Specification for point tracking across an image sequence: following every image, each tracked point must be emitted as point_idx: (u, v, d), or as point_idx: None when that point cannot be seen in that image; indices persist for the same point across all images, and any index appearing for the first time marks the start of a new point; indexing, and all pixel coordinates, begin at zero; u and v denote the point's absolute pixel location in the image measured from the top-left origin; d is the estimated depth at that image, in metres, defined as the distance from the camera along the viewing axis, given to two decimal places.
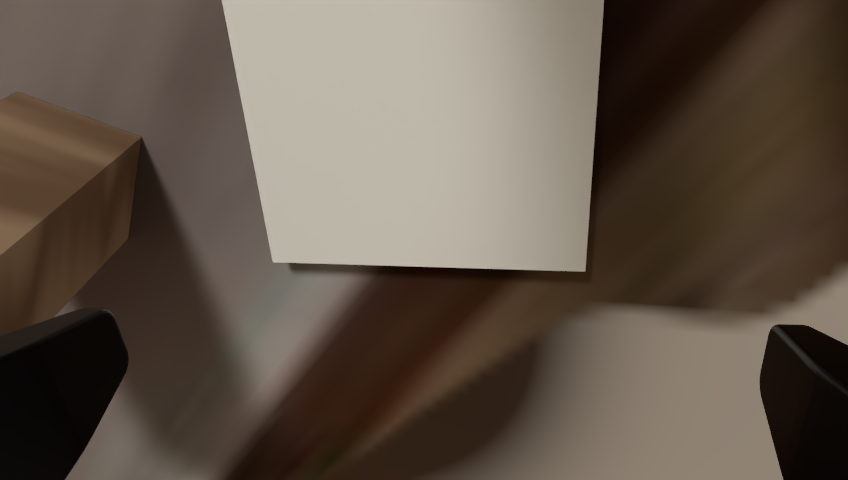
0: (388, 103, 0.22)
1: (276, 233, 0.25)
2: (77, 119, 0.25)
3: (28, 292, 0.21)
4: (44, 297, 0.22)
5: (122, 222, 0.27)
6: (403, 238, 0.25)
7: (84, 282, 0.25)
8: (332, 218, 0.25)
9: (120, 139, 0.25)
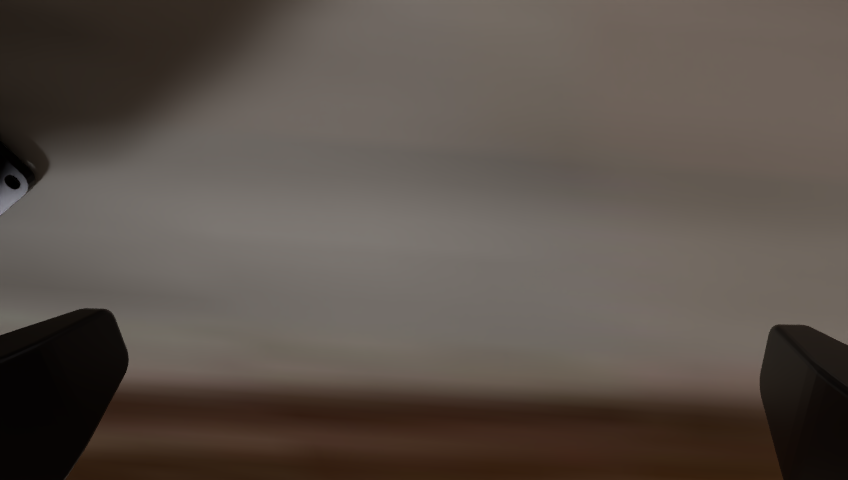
0: None
1: None
2: None
3: None
4: None
5: None
6: None
7: None
8: None
9: None
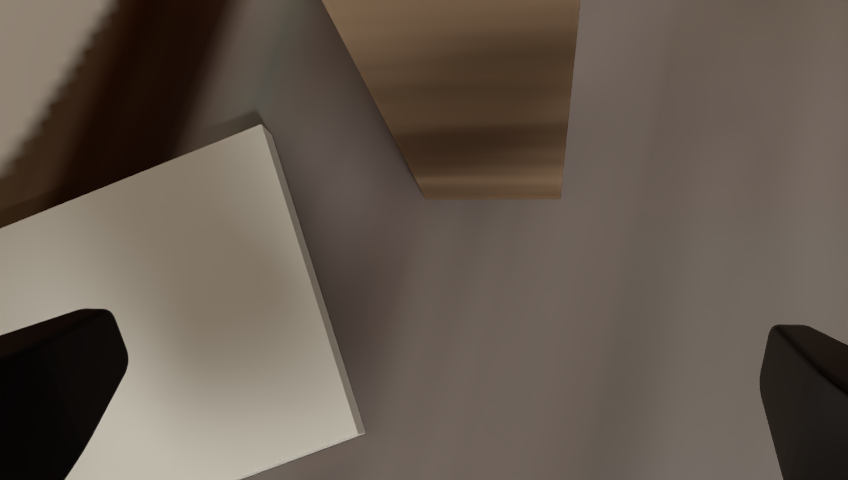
0: (177, 333, 0.24)
1: (261, 158, 0.25)
2: (487, 196, 0.24)
3: None
4: None
5: None
6: (141, 203, 0.25)
7: None
8: (210, 197, 0.25)
9: (435, 194, 0.24)
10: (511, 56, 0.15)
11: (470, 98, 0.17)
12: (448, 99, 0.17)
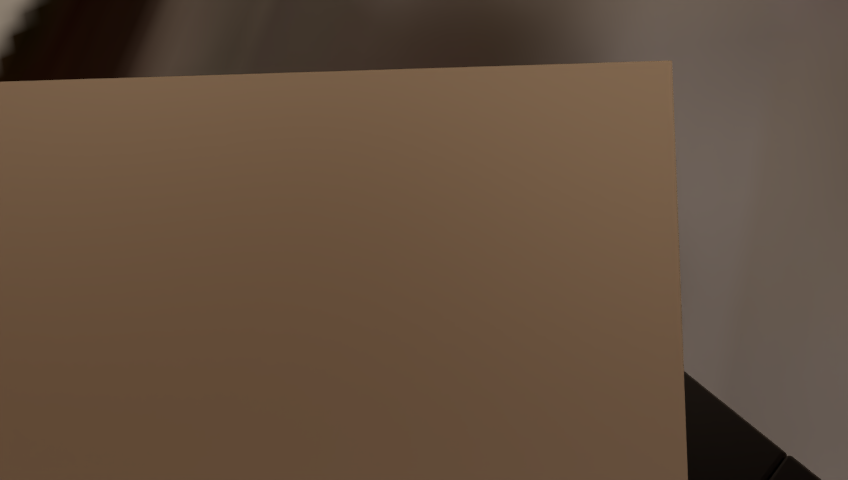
0: None
1: None
2: None
3: None
4: None
5: None
6: None
7: None
8: None
9: None
10: None
11: None
12: None
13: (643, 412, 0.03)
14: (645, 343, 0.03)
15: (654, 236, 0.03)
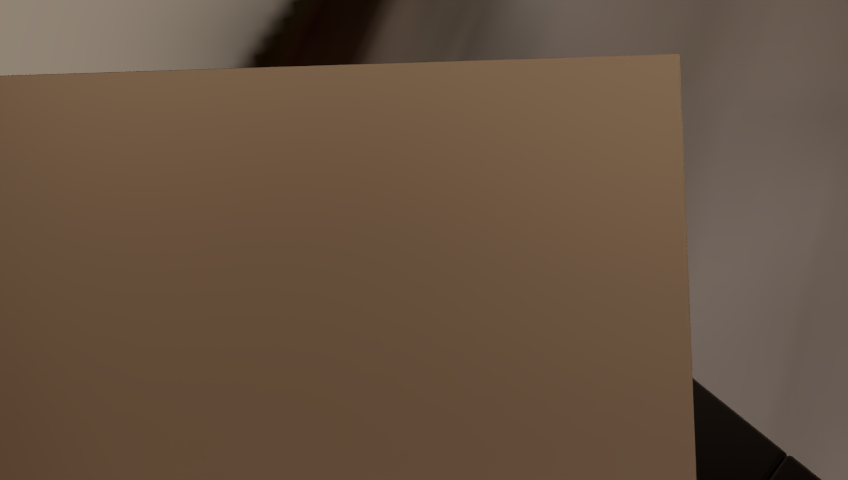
0: None
1: None
2: None
3: None
4: None
5: None
6: None
7: None
8: None
9: None
10: None
11: None
12: None
13: (651, 404, 0.03)
14: (654, 336, 0.03)
15: (662, 229, 0.03)
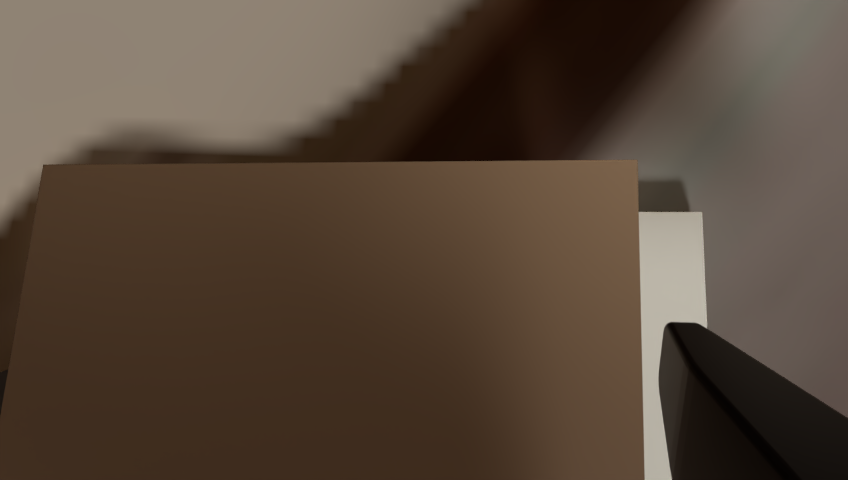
0: None
1: (689, 260, 0.17)
2: None
3: None
4: None
5: None
6: None
7: None
8: None
9: None
10: None
11: None
12: None
13: (613, 414, 0.05)
14: (616, 367, 0.05)
15: (623, 289, 0.05)
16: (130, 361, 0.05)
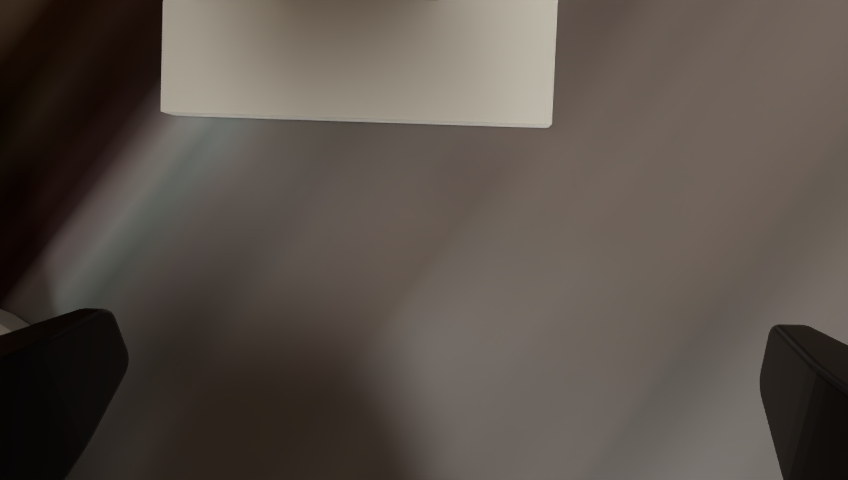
0: None
1: None
2: None
3: None
4: None
5: None
6: None
7: None
8: None
9: None
10: None
11: None
12: None
13: None
14: None
15: None
16: None
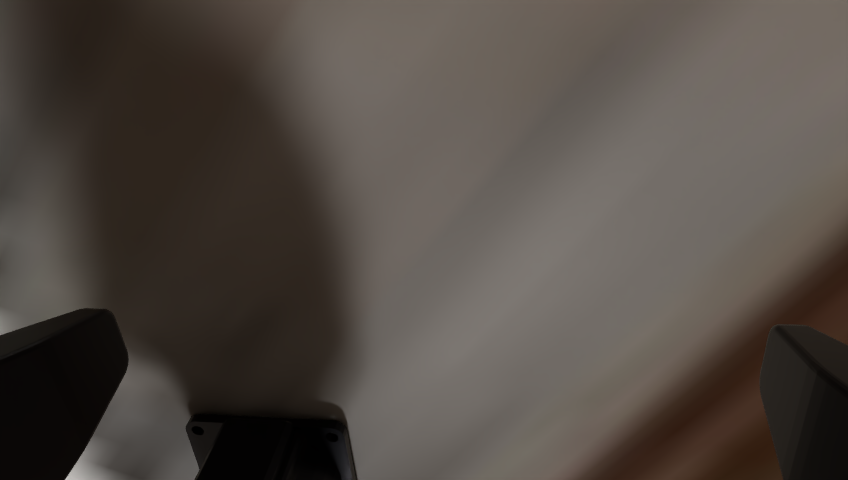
0: None
1: None
2: None
3: None
4: None
5: None
6: None
7: None
8: None
9: None
10: None
11: None
12: None
13: None
14: None
15: None
16: None
